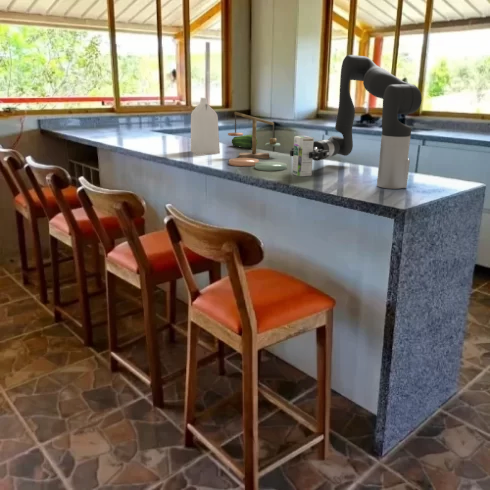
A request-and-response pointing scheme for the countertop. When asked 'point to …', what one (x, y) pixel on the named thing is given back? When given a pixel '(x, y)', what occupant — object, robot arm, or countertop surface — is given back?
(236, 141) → the vegetable
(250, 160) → the terracotta dish
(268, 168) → the sage dish
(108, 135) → the countertop surface
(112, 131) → the countertop surface
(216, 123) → the milk
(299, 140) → the syrup box
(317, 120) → the countertop surface
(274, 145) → the balance
